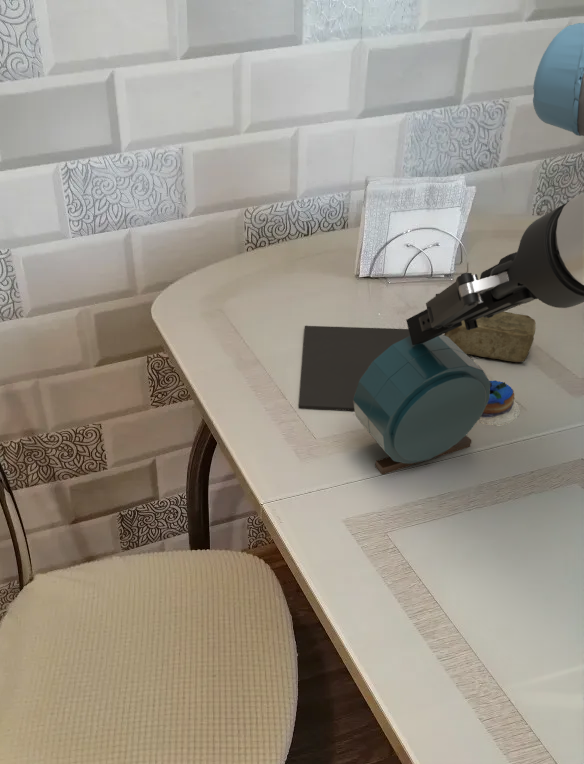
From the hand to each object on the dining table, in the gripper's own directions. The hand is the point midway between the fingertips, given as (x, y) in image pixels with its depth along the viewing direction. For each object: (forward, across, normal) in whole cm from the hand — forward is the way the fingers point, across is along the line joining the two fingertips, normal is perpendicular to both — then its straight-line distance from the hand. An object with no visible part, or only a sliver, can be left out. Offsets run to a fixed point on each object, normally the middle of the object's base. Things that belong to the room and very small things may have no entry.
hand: (415, 331), depth 83 cm
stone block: (+20, +25, -1) cm, 32 cm away
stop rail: (+9, +3, -13) cm, 16 cm away
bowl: (+2, +2, -10) cm, 10 cm away
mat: (+23, +8, 0) cm, 24 cm away
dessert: (+12, +16, -10) cm, 22 cm away
